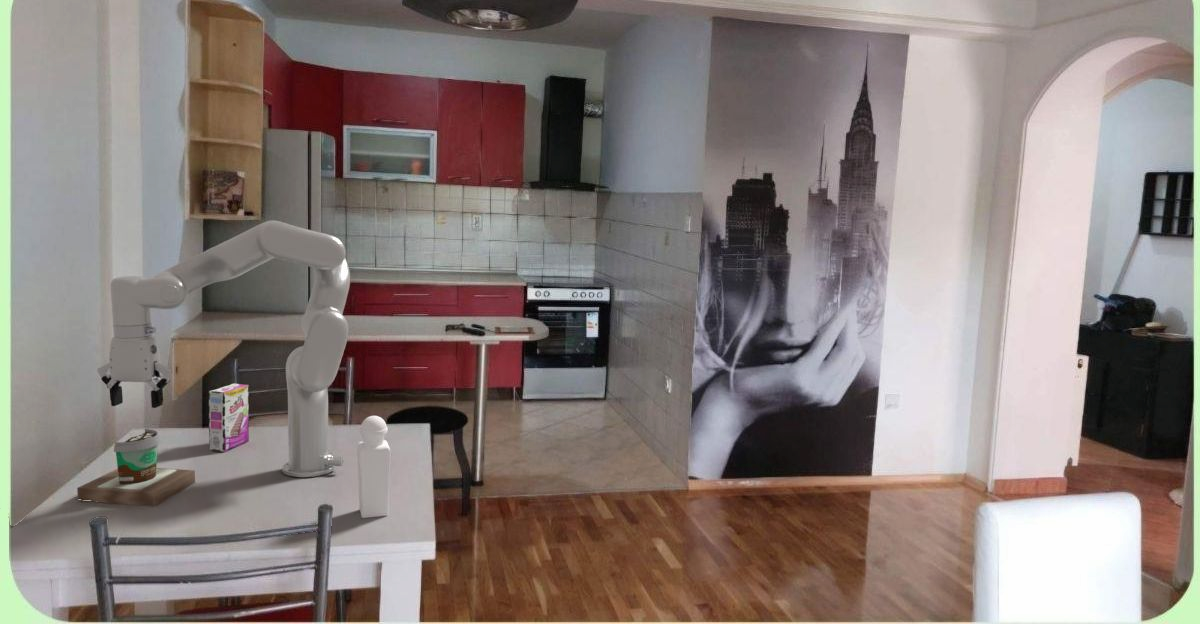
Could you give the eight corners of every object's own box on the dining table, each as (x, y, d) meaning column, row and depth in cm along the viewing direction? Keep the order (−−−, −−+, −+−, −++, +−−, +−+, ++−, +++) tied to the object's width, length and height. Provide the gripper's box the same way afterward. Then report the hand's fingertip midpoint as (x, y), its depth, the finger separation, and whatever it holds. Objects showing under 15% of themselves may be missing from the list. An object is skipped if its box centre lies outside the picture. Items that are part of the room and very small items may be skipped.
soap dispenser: (390, 516, 188) (390, 419, 185) (359, 519, 186) (359, 420, 183) (387, 506, 194) (387, 411, 191) (357, 508, 192) (356, 413, 189)
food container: (141, 487, 191) (140, 444, 190) (115, 486, 191) (113, 442, 190) (172, 470, 203) (171, 429, 202) (148, 469, 204) (146, 428, 202)
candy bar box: (225, 452, 228) (224, 392, 226) (208, 451, 229) (207, 391, 227) (250, 441, 239) (249, 383, 237) (234, 439, 240) (233, 382, 238)
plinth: (195, 482, 205) (194, 469, 204) (154, 506, 189) (154, 492, 188) (123, 477, 206) (123, 464, 206) (77, 500, 190) (77, 487, 190)
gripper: (178, 330, 196) (182, 403, 198) (107, 327, 197) (112, 400, 200) (159, 335, 188) (163, 411, 191) (85, 333, 190) (90, 408, 192)
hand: (137, 405), depth 195 cm, fingers open, 9 cm apart
